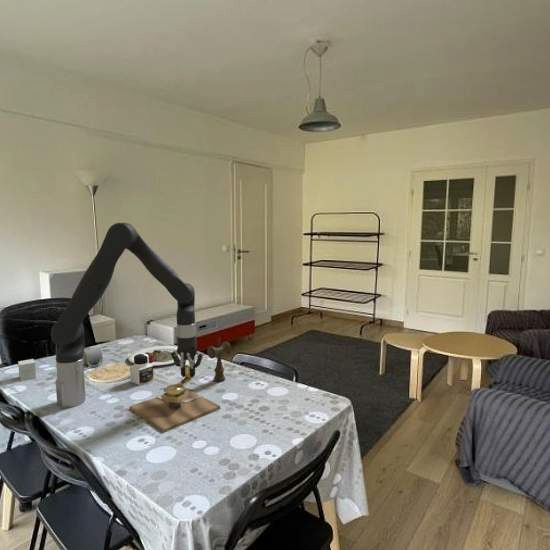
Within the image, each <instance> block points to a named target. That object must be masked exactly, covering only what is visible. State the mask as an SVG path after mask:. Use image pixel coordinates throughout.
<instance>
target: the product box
mask: <svg viewBox="0 0 550 550" xmlns="http://www.w3.org/2000/svg"><path fill="white" fill-rule="evenodd" d="M17 362H18V363H17V364H18V376H19V380H20V382H24V381H27V380H33V379H36V378H37V369H36V368H37V367H36V362H35V359H34V358H30V359H25V360H20V361H19V360H18V361H17Z"/></svg>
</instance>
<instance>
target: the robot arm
mask: <svg viewBox="0 0 550 550" xmlns="http://www.w3.org/2000/svg"><path fill="white" fill-rule="evenodd" d="M126 250H127V251H129V252H130V253H132V254H133V255H134V256H135V257H137V259H138V260H139V261H140V262H141V263H142V265H143V266H144V267H145V269H146V270H147V271H148V273H150V275H151V276H152V277H153V278H154V279H155V280H157V281H158V282H159V283H160V284H161V285H162V286H163V287H165V289H166V290H167V292H168V293H169V294H170V295H171V296H172V297H173V299H175V301H176V302H177V309H176V347H178V348H177V350H176V351H173V352H172V353H171V356H172V358H173V360H174V362H175V363H174V364H175V366H176V367H179V368H180V376H181V377H182V378H185V365H187V364H186V363H187V361H188V365H190V368H191V369H190V377H191V378H192V379H193V378H194V377H195V376H196V369H197V368H198V367H199V366H200V365H201V363H202V360H203V358H204V356H205V353H204V352H201V351H199V349H198V347H197V345H198V343H197V326H196V314H195V313H196V312H195V303H196V302H195V300H196V297H195V295H196V294H195V292H196V291H195V289H194V286H193V285H192V284H191V283H187V282H184V281H183V280H182V279H181V278H180V277H179V275H178V273H177V271H175V270H174V269H173V268H172V267H171V266H170V265H169V264H168V263H167V262H166V261H164V260H163V258H162V257H160V256H159V255H158V254H157V252H155V251H154V249H153V248H151V247H150V246H149V244H148V243H147V242H146V241H145V240H144V238H143V237H142V236H141V235H140V234H139V232H138V231H137V229H136V228H135V227H134V226H133V225H132V224H130V223H127V222H116V223H114V224H112V225H111V226H110V227H109V228H108V230H107V231H106V234H105V237H104V239H103V241H102V243H101V246H100V248H99V250H98V252H97V254H96V255H95V257H94V258H93V259H92V261H91V262H90V263H89V265H88V267H87V269H86V270H85V272H84V274H83V276H82V277H81V279H80V281H79V283H78V284H77V286H76V288H75V290H74V292H73V294H72V295H71V298H70V300H69V302H68V304H67V306H66V308H65V309H64V311H63V312H62V313H61V315H60V316H59V318H57V321H55V323H54V324H53V325H52V327H51V330H50V337H51V340H52V342H53V344H56V345H58V349H57V351H56V354H55V363H56V365H55V367H56V379H55V390H56V393H55V394H56V395H55V396H56V404H58V406H60V407H61V408H62V409H64V408H70V407H76V406H79V405H82V404H83V403H84V402H85V401H86V383H85V381H86V380H85V369H84V368H85V366H84V365H85V364H84V362H83V352H84V351H85V327H84V324H83V321H84V319H85V318H86V317H87V315H88V314H89V313H90V311H91V310H92V309H93V308H94V307H95V306H96V304H97V303H98V302H99V301H100V299H102V297H103V295H104V294H105V291H106V290H107V289H108V288H109V285H110V283H111V281H112V278H113V275H114V272H115V268H116V265H117V263H118V260H119V259H120V258H121V256H122V254H123V253H124V252H125V251H126ZM178 354H179V356H180V357H181V358H180V359H179V357H178ZM196 357H197V359H196Z"/></svg>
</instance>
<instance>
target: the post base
mask: <svg viewBox="0 0 550 550" xmlns="http://www.w3.org/2000/svg"><path fill="white" fill-rule="evenodd" d="M183 390H188V396H186V397H185V398H184V399H183V400H181V401H180V402H179V403H174V402H168V401H162V400H161V395H162V394H159V395H157V396H156V397H152V398H149V399H147V400H144V401H141V402H138V403H135V404H132V405H129V409H130V410H131V411H132V412H133V413H135V414H136V415H138V416H140V417H141V418H142V419H144V420H145V421H146V422H148V423H150V424H151V425H152V426H153V427H155V428H156V429H158V430H159V431H161V432H162V433H165V432H168V431H170V430H173V429H175V428H177V427H179V426H182V425H184V424H187V423H189V422H191V421H194V420H196V419H199V418H201V417H203V416H207V415H208V414H211V413H213V412H215V411H218V410H221V406H220V404H217V403H215V402H213V401H211V400H210V399H208V398H205V397H204V396H203V395H201V394H198V393H196V392H194V391H192V390H190V389H189V388H186V387H183ZM175 397H178V396H175Z"/></svg>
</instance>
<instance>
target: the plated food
mask: <svg viewBox="0 0 550 550" xmlns="http://www.w3.org/2000/svg"><path fill="white" fill-rule="evenodd" d="M177 348H178V346H177V345H176V346H175V345H158V346H149V347H144V348H141V349H138V350H135V351H133V352H131V353H130V354H129V355H128V357H127V360H128V361H129V362H130V363H132V364H134V356H135V355H137V354H147V355H148V359H149V363H148V364H151V365H153V367H158V366H165V365H172V364H175V362H174V360H173V358H172V356H171V353H172V352H173V351H176V350H177ZM178 357H179V359H180V358H181V357H180V356H179V354H178Z"/></svg>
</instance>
